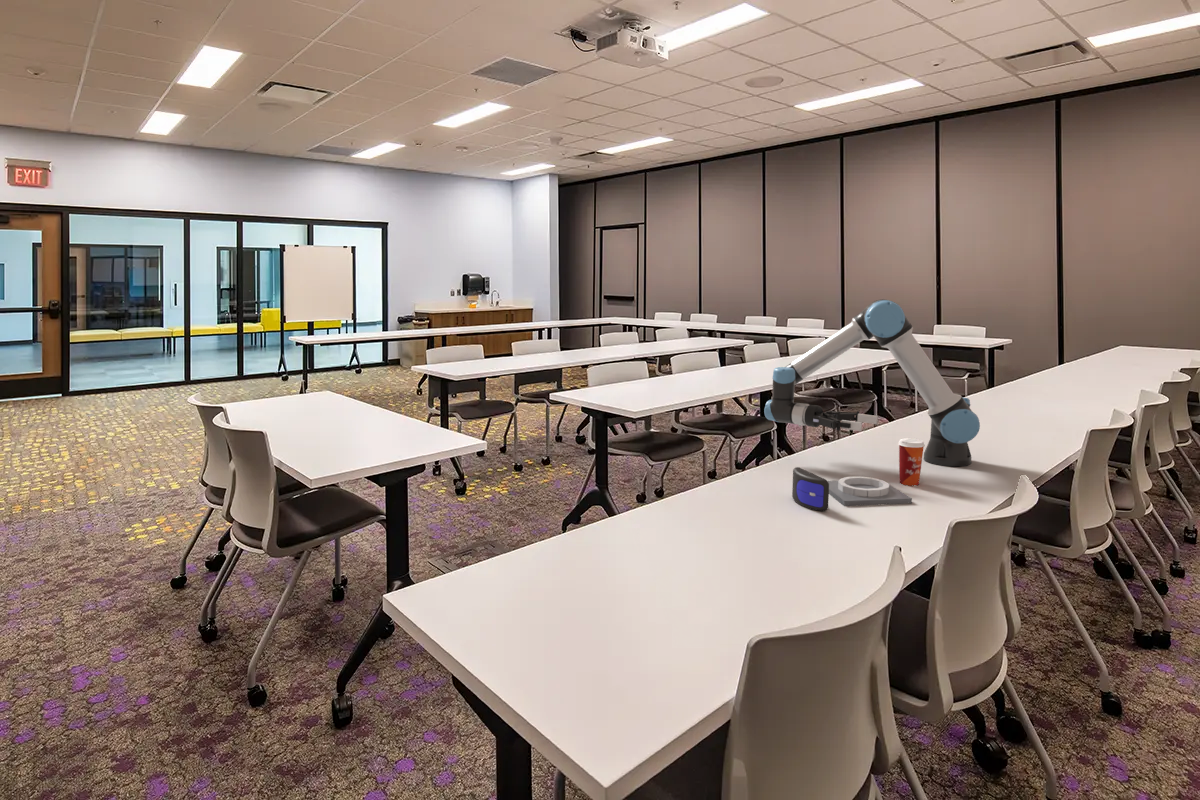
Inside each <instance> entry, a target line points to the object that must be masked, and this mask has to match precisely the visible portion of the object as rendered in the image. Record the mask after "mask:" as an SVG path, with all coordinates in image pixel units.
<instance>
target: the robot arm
mask: <svg viewBox="0 0 1200 800" xmlns="http://www.w3.org/2000/svg"><path fill="white" fill-rule="evenodd" d="M913 330H914V326H913V325H912V324H911V322H910V320H909V319H908V317H906V315H905V312H904V310H903V308H902V307H901V306H900V304H898V303H896V302H894V301H892V300H889V299H884V298H883V299H878V300H874V301H872V302H871V303H869V304H868V305H867V306H866V307H865V308H864V309H863V310H861V311H860V312H859V313H858V314H856V315H855V316H853V317H852V319H851V322H849V323H848V324H847V325H845V326H843V327H842V328H841V329H839V330H838V331H836V332H834V333H833V334H831V335H830V336H829V337H827V338H826V339H824V340H823V341H821V342H819V343H818V344H816V346H814V347H813V348H811V349H810V350H808V351H807V352H805V353H803V354H802V355H800V356H799V357H797V358H796V359H794V360H793V361H791V362H790V363H789V364H787V365H786V366H784V367H783V366H780V367H775V368H773V374H772V397H771V399H769V400H767V401H766V403H765V406H764V409H763V410H764V411H763V412H764V416H765V417H764V418H766V419H767V420H768V421H773V422H777V423H785V424H793V425H798V427H802V426H807V427H813V428H818V427H820V426H822V427H825V428H829V429H831V430H836V431H841V429H842V430H849V431H856V432H862V430H863V424H864V423H866V424H870V425H871V424H873V425H878V421H879V416H878V415H872V414H864V413H860V411H859V410H857V411H840V410H839V411H836V410H826V411H823V407H822V406H820V405H816V404H809V403H802V402H801V403H800V402H794V401H795V388H796V387H795V386H796V385H797V384H799V383H800V382H802V381H803V380H804V379H806V378H807V377H810V376H811V375H812V374H813V373H816V372H817V371H818V370H820V369H821V368H823V367H825V365H827V364H829V363H831V362H832V361H833V360H835V359H836V358H838V357H840V356H841V355H844V353H845V352H847V351H849V350H850V349H852V348H853V347H855V346H857V345H858V344H859V343H861V342H863V341H864V340H865V341H870V339H872V338H874V339H875V340H876V342H877V343H878V345H879V347H881V348H885V349H888V350H889V352H890V353H891V355H892V356H893V358H894V360H895V361H896V362H897V363H898V364H899V365H898V366H900V368H901V370H903V372H904V374H905V375H906V376H907V378H908V380H909V381H910V382H911V383H912V385H913V386H914V388H915V390H917V392H918V393H919V396H920V397H921V398H922V399H923V401H924V402H925V404H926V405H927V406H928V410H927V415H928V416H929V417H930V419H931V421H930V422H931V423H930V438H929V440H928V442H927V445H926V446H925V449H924V451H923V460H924V461H925V462H927V463H930V464H934V465H936V466H937V465H938V466H946V467H964V466H970V465H971V464H972V458H973V457H972V454H971V450H970V447H969V442H970V441H972V440H973V439H975V438H976V436H977V435H978V434H979V431H980V429H981V428H980V427H981V425H980V419H979V417H978V415H977V414H976V413H975V412H973V410H972V409H971V400H970V398H968V397H963V396H962V395H961V394H957V393H954V392H953V390H952V389H951V388H950V386H949V385H948V383H947V382H946V381H945V379H944V378H943V376H942V375H941V374H940V372H939V370H938V369H937V367H935V365H934V364H933V362H932V361H931V359H930V358H929V357H928V355H927V353H926V352H925V351H924V349H923V348H922V347H921V345H920V343H919V342H918V341H917V339H916V338H915V336H914V335H913Z"/></svg>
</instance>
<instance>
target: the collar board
mask: <svg viewBox="0 0 1200 800" xmlns="http://www.w3.org/2000/svg"><path fill="white" fill-rule="evenodd" d="M827 481H828V483H829V495H830V496H831V497H832V498H833V499H835V500H836V501H837V502H839V503H840V504H841V505H842V506H843V507H853V506H856V505H858V506H879V505H878V504H880V505H881V504H884V505H905V504H904V503H910V504H912V503H913V498H912V497H911V496H909V495H907V494H905V493H904V492H902V491H901V490H899V489H897V488H896V487H894V486H893V485H891V484H890V483H888V482H886V481H885V480H883V479H881V478H876V477H870V476H863V475H862V476H844V477H842V478H839V479H838V480H827Z"/></svg>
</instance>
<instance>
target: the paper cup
mask: <svg viewBox="0 0 1200 800" xmlns="http://www.w3.org/2000/svg"><path fill="white" fill-rule="evenodd" d="M897 444H898V450H899V451H898V452H899V453H898V455H899V456H898V457H899V459H898V464H899V465H898V467H899V471H898V473H899V477H898V478H899V484H900V483H901V484H900V485H902V484H903V485H902V486H906V485H908V487H915V486H914V485H917V486H919V485H918V484H919V483H920V480H921V479H920V477H921V469H922V461H923V457H924V447H926V445H925V442H924V440H923V439H918V438H910V437H904V438H901V439H899V441H898V442H897ZM912 485H913V486H912Z"/></svg>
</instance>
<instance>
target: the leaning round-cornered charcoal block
mask: <svg viewBox="0 0 1200 800" xmlns="http://www.w3.org/2000/svg"><path fill="white" fill-rule="evenodd" d="M828 481H829V480H827V479H826V478H823V476H820V475H816V474H815V473H812V472H810V471H808V470H806V469H803V468H801V467H794V468H793V469H792V492H791V493H792V495H791V496H792V499H793V501H794V502H796V503H797V504H798V505H800V506H802V507H804V508H807V509H810V510H814V511H817V512H826V511H827V510H828V509H829V498H830V497H829V495H830V494H829V483H828Z"/></svg>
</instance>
